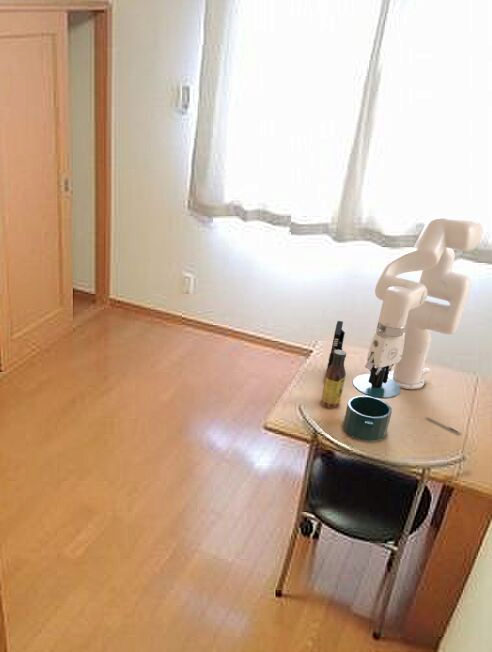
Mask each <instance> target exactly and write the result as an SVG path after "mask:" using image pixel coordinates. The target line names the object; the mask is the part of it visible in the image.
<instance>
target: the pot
mask: <svg viewBox="0 0 492 652" xmlns="http://www.w3.org/2000/svg"><path fill="white" fill-rule="evenodd" d="M392 413H393V411H392V407H391V406H390V405H389V403H388V402H387V401H385V400H383V399H381V398H374V397H370V396H367V395H365V394H364V395H356V396H353V397H351V398H350V399H349V400H348V401H347V405H346V410H345V414H344V419H343V424H342V429H343V431H344V432H345V433H346V434H347V436H349V437H350V438H356V439H359V440H363V441H368V442H369V441H370V442H372V441H379V440H382V439H384V438H385V437H386V436H387V432H388V429H389V424H390V420H391V417H392Z"/></svg>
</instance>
